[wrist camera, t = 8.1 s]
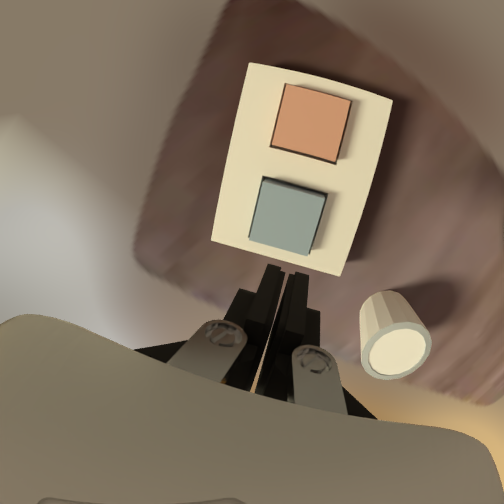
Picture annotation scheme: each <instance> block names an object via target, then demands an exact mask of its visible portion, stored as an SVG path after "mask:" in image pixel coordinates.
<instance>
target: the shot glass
mask: <svg viewBox="0 0 504 504" xmlns="http://www.w3.org/2000/svg"><path fill="white" fill-rule="evenodd" d="M360 338H361V363H362V365H363V367H364V369H365V371H366V372H367V373H368V374H370V375H371V376H373V377H375V378H379V379H384V380H390V379H397V378H401V377H404V376H406V375H408V374H410V373H412V372H414V371H415V370H416V369H417V368H419V367H420V366H421V365H422V364H423V363H424V361H425V360H426V358H427V357H428V355H429V354H430V349H431V344H432V341H431V338H430V334H429V332H428V330H427V329H426V327H425V326H424V324H423V323H422V321H421V320H420V319H419V317H418V316H417V314H416V313H415V311H414V310H413V309H412V307H411V306H410V304H409V303H408V302H407V300H406V299H405V298H404V297H403V296H402V295H401V294H400V293H398V292H394V291H391V290H388V291H380V292H378V293H376V294H374V295H372V296H370V297H369V298H368V299H367V300H366V301H365V302H364V303H363V306H362V308H361V310H360Z"/></svg>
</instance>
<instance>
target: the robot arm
mask: <svg viewBox="0 0 504 504" xmlns="http://www.w3.org/2000/svg"><path fill="white" fill-rule="evenodd" d="M280 270H281V267H278V266H275V265H271V264H268V265H267V267H266V270H265V273H264V275H263V278H262V280H261V283H260V285H259V288H258V290H257V293H254V292H250V291H247V290H244V289H239V290H238V292H237V294H236V296H235V298H234V300H233V302H232V304H231V306H230V308H229V309H228V311H227V313H226V315H225V317H224V319H223V320H212V321H208V322H206V323H205V324H203V325H202V326H201V327H200V328H199V329H198V330H197V332H196V333H195V334H194V335H193V336H192V337H191V338H190V339H189V340H186V341H181V342H175V343H170V344H164V345H159V346H153V347H147V348H140V349H135V350H132V349H129V348H127V347H125V346H123V345H120V344H118V343H116V342H114V341H111V340H109V339H107V338H104V337H102V336H100V335H98V334H96V333H93V332H91V331H89V330H87V329H85V328H83V327H80V326H77V325H75V324H72V323H70V322H67V321H63V320H60V319H57V318H53V317H48V316H43V315H34V314H24V315H19V316H16V317H13V318H11V319H9V320H7V321H5V322H3V323H2V324H0V504H504V492H503V487H502V483H501V480H500V477H499V474H498V471H497V468H496V465H495V462H494V460H493V458H492V456H491V454H490V452H489V450H488V449H487V447H486V446H485V445H484V444H482V443H481V442H480V441H479V440H477V439H475V438H473V437H471V436H469V435H466V434H464V433H461V432H458V431H454V430H450V429H445V428H440V427H432V426H423V425H415V424H407V423H398V422H390V421H382V420H378V419H377V418H376V417H375V416H374V415H372V414H371V413H370V412H369V411H368V410H367V409H366V408H365V407H364V406H363V405H362V404H361V403H359V402H358V401H357V400H356V399H355V398H354V397H353V396H352V395H351V394H350V393H349V392H348V391H347V390H346V389H345V388H343V387H342V385H341V381H340V376H339V372H338V367H337V363H336V361H335V359H334V357H333V356H332V355H331V354H330V353H329V352H327V351H326V350H324V349H322V348H320V311H317V310H313V309H310V308H307V297H308V284H309V275H306V274H303V273H299V272H295V275H293V274H289V277H288V280H287V283H286V287H285V290H284V293H283V296H282V299H281V302H280V306H279V309H278V312H277V315H276V318H275V321H274V324H273V320H274V317H275V313H276V309H277V305H278V301H279V297H280V293H281V289H282V285H283V280H284V276H285V272H282V271H280ZM272 324H273V327H272ZM271 328H272V330H271ZM270 331H271V334H270ZM269 334H270V337H269ZM268 337H269V341H268V346H267V349H266V353H265V356H264V360H263V364H262V368H261V371H260V375H259V378H258V382H257V386H256V389H255V394H254V393H251V392H250V390H251V387H252V384H253V381H254V378H255V375H256V372H257V369H258V367H259V364H260V361H261V358H262V355H263V352H264V349H265V346H266V343H267V340H268ZM247 391H248V392H247Z"/></svg>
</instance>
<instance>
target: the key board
mask: <svg viewBox="0 0 504 504" xmlns="http://www.w3.org/2000/svg"><path fill="white" fill-rule="evenodd" d="M286 84H288V85H292V86H297V87H301V88H305V89H309V90H313V91H317V92H321V93H324V94H328V95H331V96H335V97H338V98H342V99H345V100H348V101H350V105H349V109H348V114H347V118H346V122H345V126H344V130H343V134H342V138H341V141H340V145H339V149H338V153H337V157H336V160H335V162H334V161H331V160H327V159H324V158H320V157H317V156H313V155H310V154H306V153H302V152H299V151H295V150H291V149H287V148H283V147H279V146H275V145H272V142H273V137H274V133H275V129H276V125H277V121H278V117H279V113H280V108H281V104H282V100H283V96H284V92H285V88H286ZM392 102H393V100H390V99H388V98H385V97H382V96H379V95H377V94H374V93H371V92H368V91H365V90H362V89H359V88H356V87H353V86H349V85H346V84H343V83H339V82H336V81H332V80H329V79H325V78H321V77H317V76H313V75H309V74H305V73H301V72H296V71H292V70H287V69H282V68H277V67H272V66H267V65H261V64H255V63H249V66H248V70H247V74H246V78H245V82H244V86H243V90H242V95H241V99H240V103H239V107H238V112H237V116H236V120H235V125H234V129H233V134H232V138H231V143H230V147H229V152H228V157H227V161H226V166H225V171H224V176H223V181H222V185H221V190H220V195H219V201H218V206H217V211H216V216H215V221H214V227H213V232H212V237H211V240H212V241H215V242H219V243H222V244H226V245H229V246H233V247H236V248H240V249H244V250H247V251H251V252H254V253H258V254H261V255H265V256H268V257H272V258H276V259H279V260H283V261H286V262H290V263H293V264H297V265H300V266H304V267H308V268H311V269H315V270H318V271H322V272H325V273H329V274H332V275H336V276H340V275H341V272H342V270H343V267H344V264H345V261H346V259H347V256H348V253H349V250H350V248H351V245H352V242H353V239H354V236H355V233H356V230H357V227H358V224H359V221H360V218H361V215H362V212H363V209H364V206H365V203H366V199H367V196H368V193H369V190H370V186H371V183H372V179H373V176H374V173H375V169H376V166H377V162H378V158H379V155H380V151H381V147H382V143H383V140H384V136H385V132H386V128H387V124H388V120H389V115H390V111H391V107H392ZM266 178H269V179H273V180H276V181H280V182H284V183H288V184H291V185H295V186H299V187H302V188H306V189H309V190H313V191H316V192H320V193H323V194H324V197H325V200H324V204H323V207H322V210H321V214H320V217H319V221H318V224H317V227H316V230H315V234H314V237H313V240H312V243H311V247H310V250H309V253H308V256H304V255H300V254H297V253H293V252H290V251H286V250H282V249H279V248H275V247H272V246H268V245H265V244H261V243H257V242H254V241H250V240H249V238H250V233H251V229H252V225H253V221H254V216H255V212H256V208H257V204H258V200H259V195H260V191H261V187H262V183H263V181H264V180H265V179H266Z"/></svg>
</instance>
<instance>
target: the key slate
mask: <svg viewBox="0 0 504 504" xmlns="http://www.w3.org/2000/svg"><path fill="white" fill-rule="evenodd" d="M324 200H325V197H324V194H323V193H320V192H316V191H313V190H309V189H306V188H302V187H299V186H295V185H291V184H288V183H284V182H280V181H276V180H273V179H269V178H266V179H265V180H264V181H263V183H262V187H261V191H260V195H259V200H258V204H257V208H256V212H255V216H254V221H253V225H252V229H251V233H250V238H249V240H250V241H254V242H257V243H261V244H265V245H268V246H272V247H275V248H279V249H282V250H286V251H290V252H293V253H297V254H300V255H304V256H308V253H309V250H310V247H311V243H312V240H313V237H314V234H315V230H316V227H317V224H318V221H319V217H320V214H321V210H322V207H323V204H324Z"/></svg>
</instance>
